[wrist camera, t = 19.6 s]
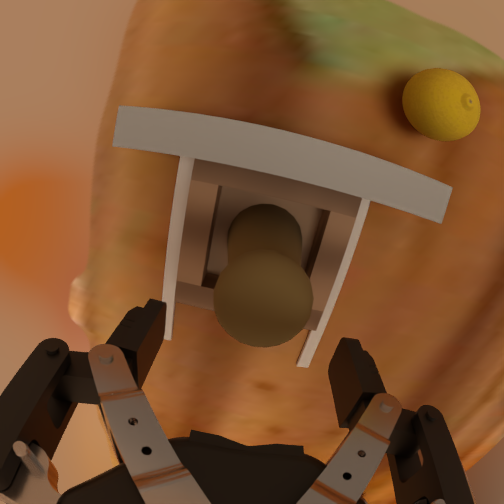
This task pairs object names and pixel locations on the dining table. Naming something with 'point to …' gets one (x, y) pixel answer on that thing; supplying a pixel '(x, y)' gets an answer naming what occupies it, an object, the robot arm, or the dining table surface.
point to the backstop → (277, 163)
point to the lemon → (441, 104)
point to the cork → (263, 278)
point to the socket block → (248, 194)
